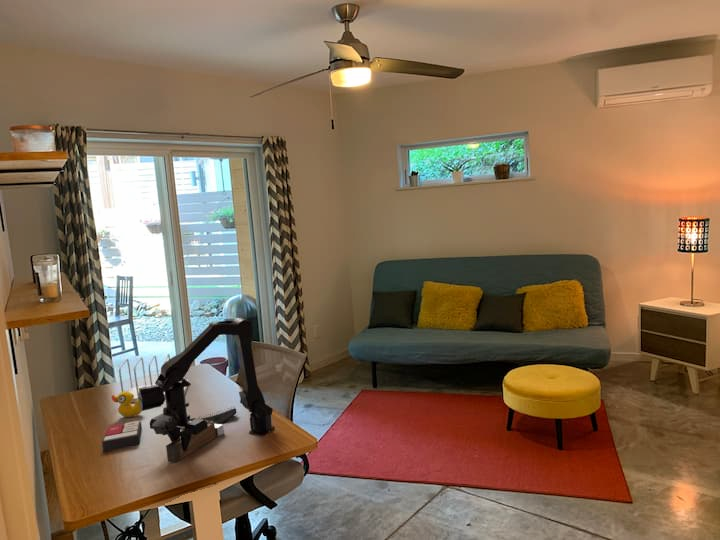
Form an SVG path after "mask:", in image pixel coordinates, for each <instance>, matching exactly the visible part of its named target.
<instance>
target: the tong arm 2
mask: <svg viewBox="0 0 720 540" xmlns="http://www.w3.org/2000/svg"><path fill="white" fill-rule="evenodd" d="M207 426H208V428H207V429H205V430H203V431H202V432H200V433H198V434H197V435H192V437H191V439H190V442H189V445H188V448H187V450H186V451H183V448H182V442H181V440H180V441H179V442H177V443H175V444H173V445H171V446H170V452H171V460H172V462H171V463H177V462H178V461H180V460H182V459H183V458H184V457H186V456H189V454H191V453H193V452H194V451H196V450H197V449H199V448H200V447H202V446H204V445H205V444H207V443H209V442H210V441H212V440H213V439H215V438H217V437H216V434H215V425H214V422H213V421H210V423H209V424H208V425H207Z"/></svg>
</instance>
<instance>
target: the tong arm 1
mask: <svg viewBox="0 0 720 540" xmlns="http://www.w3.org/2000/svg"><path fill="white" fill-rule="evenodd" d="M209 423H210V422H208V420H207V425H208V424H209ZM180 440H181V437H180V438H178V439H177V440H175V441H173V442H170V443H169V444H166V445H165V450H166V456H167V458H166V459H167V462H171V463H173V462H172V460H171V452H170V446H171V445H173V444H175V443H177V442H179V441H180Z"/></svg>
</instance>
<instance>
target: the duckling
mask: <svg viewBox="0 0 720 540" xmlns="http://www.w3.org/2000/svg"><path fill="white" fill-rule="evenodd" d="M133 398H134V395H133V394H132V393H130V392H128V390H123V392H122V391H121V392H119V394H118V395H117V396H115V395H114V394H113V395H111V399H112V401H113V402H114V403H119V404H120V405H119V406H118V408H117V410H118V414H120V416H122V417H124V418H134V417H136V416H138V415H140V414H141V413H142V412H143V411H141V409H140V406H139V402H138V399H137V400H136V402H134V405H133V404H132V403H131V402H132V400H133Z"/></svg>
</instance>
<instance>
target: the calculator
mask: <svg viewBox="0 0 720 540" xmlns="http://www.w3.org/2000/svg"><path fill="white" fill-rule="evenodd" d="M142 429H143V426H142V421H140V420H134V421H131V422H130V421H129V422H125V423H119V424H114V425H109V426H108V427H107V429H106V431H105V434H104V437H103V439H102V451H103V453H105V452H111V451H115V450H121V449H125V448H132V447H136V445H137V446H139V445H140V444H141V436H142ZM131 446H132V447H131Z"/></svg>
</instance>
